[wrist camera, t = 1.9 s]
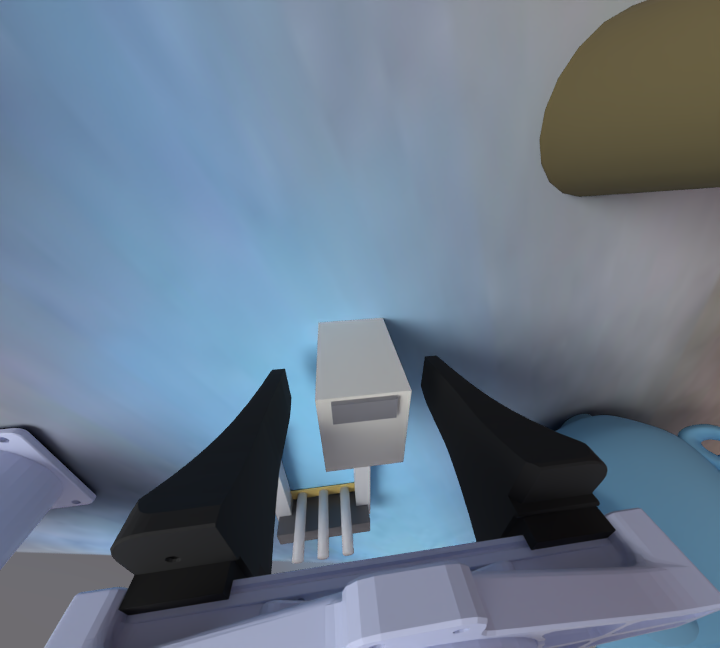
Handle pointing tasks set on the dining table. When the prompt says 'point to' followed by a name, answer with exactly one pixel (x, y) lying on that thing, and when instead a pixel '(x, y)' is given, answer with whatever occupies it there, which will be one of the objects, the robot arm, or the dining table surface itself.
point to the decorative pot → (662, 501)
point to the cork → (639, 104)
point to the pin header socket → (323, 513)
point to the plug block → (360, 395)
